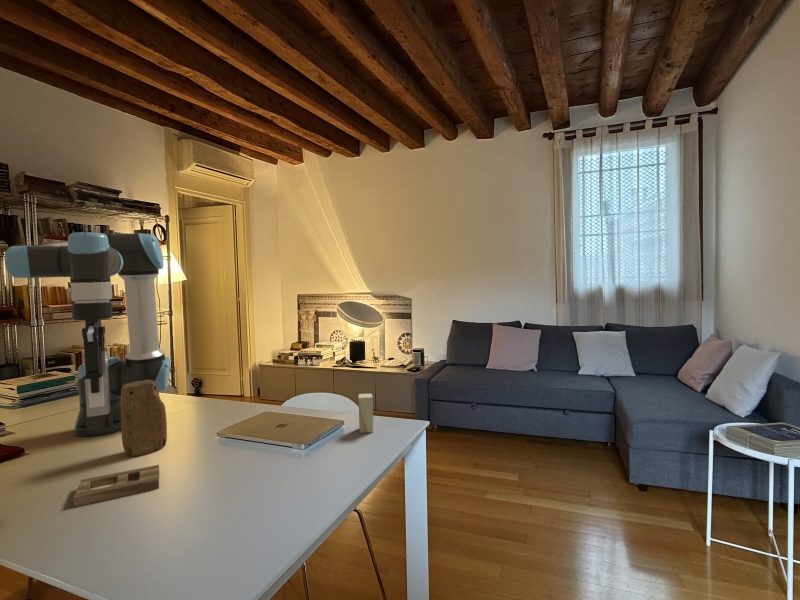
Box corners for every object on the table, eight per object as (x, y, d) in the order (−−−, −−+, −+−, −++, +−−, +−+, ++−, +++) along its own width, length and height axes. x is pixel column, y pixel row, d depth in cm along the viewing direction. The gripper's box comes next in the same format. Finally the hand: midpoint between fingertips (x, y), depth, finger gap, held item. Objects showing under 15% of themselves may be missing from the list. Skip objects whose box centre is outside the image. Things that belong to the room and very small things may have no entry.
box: (359, 427, 140) (358, 393, 140) (373, 427, 141) (372, 392, 140) (359, 433, 135) (358, 397, 134) (373, 432, 135) (372, 397, 135)
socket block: (81, 488, 103) (81, 479, 103) (159, 472, 111) (158, 464, 111) (74, 506, 95) (73, 497, 94) (158, 488, 102) (158, 479, 102)
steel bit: (89, 412, 101) (86, 352, 101) (110, 409, 103) (106, 350, 103) (86, 417, 98) (83, 354, 97) (108, 414, 100) (104, 352, 99)
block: (125, 459, 120) (121, 387, 119) (121, 452, 125) (117, 382, 125) (169, 449, 127) (166, 380, 126) (163, 442, 132) (160, 376, 132)
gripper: (78, 301, 105) (84, 398, 106) (63, 303, 90) (71, 416, 91) (115, 300, 109) (120, 393, 110) (107, 302, 94) (114, 410, 95)
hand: (98, 403), depth 100 cm, fingers closed on steel bit, 4 cm apart
